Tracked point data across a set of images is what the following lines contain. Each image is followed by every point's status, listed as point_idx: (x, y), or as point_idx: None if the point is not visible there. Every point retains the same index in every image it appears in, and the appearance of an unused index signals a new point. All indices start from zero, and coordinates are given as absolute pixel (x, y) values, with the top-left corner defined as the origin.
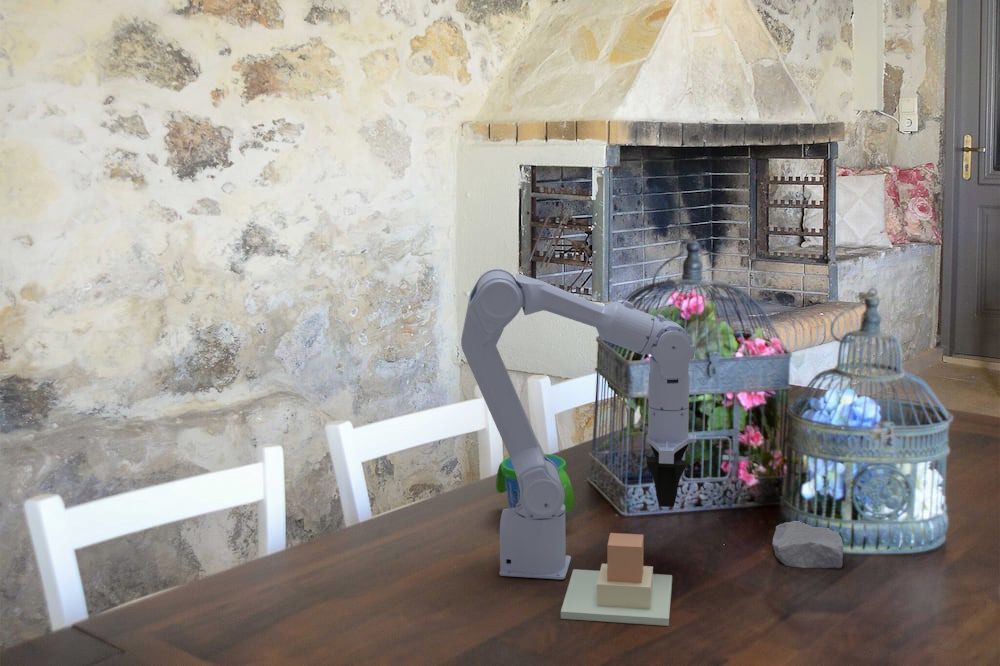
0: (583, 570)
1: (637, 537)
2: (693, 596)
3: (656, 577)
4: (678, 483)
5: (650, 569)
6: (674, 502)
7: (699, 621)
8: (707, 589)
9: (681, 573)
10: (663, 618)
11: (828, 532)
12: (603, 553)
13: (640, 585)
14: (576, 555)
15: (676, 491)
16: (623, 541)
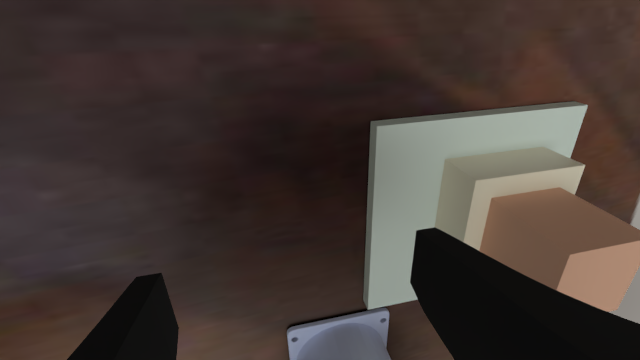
0: (370, 294)
1: (585, 263)
2: (446, 61)
3: (394, 159)
4: (575, 300)
5: (493, 182)
6: (452, 236)
7: (565, 38)
8: (406, 26)
9: (314, 104)
10: (583, 115)
11: None
12: (234, 286)
13: (572, 186)
14: (261, 324)
15: (510, 269)
16: (605, 286)
